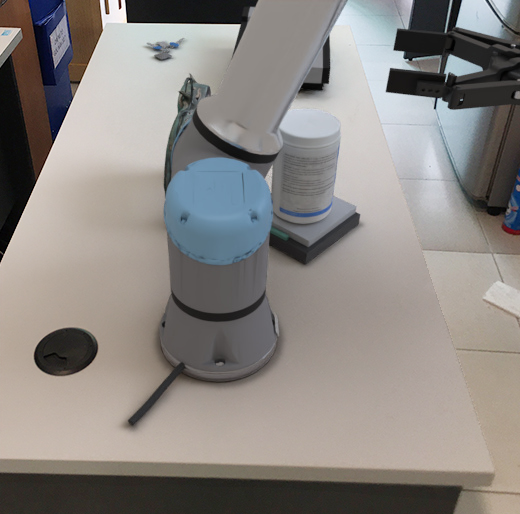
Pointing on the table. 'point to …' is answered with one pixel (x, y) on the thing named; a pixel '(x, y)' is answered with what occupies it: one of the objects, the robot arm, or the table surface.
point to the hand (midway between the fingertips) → (391, 58)
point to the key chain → (164, 45)
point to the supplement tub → (306, 166)
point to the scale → (313, 231)
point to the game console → (318, 70)
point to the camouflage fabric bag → (183, 117)
